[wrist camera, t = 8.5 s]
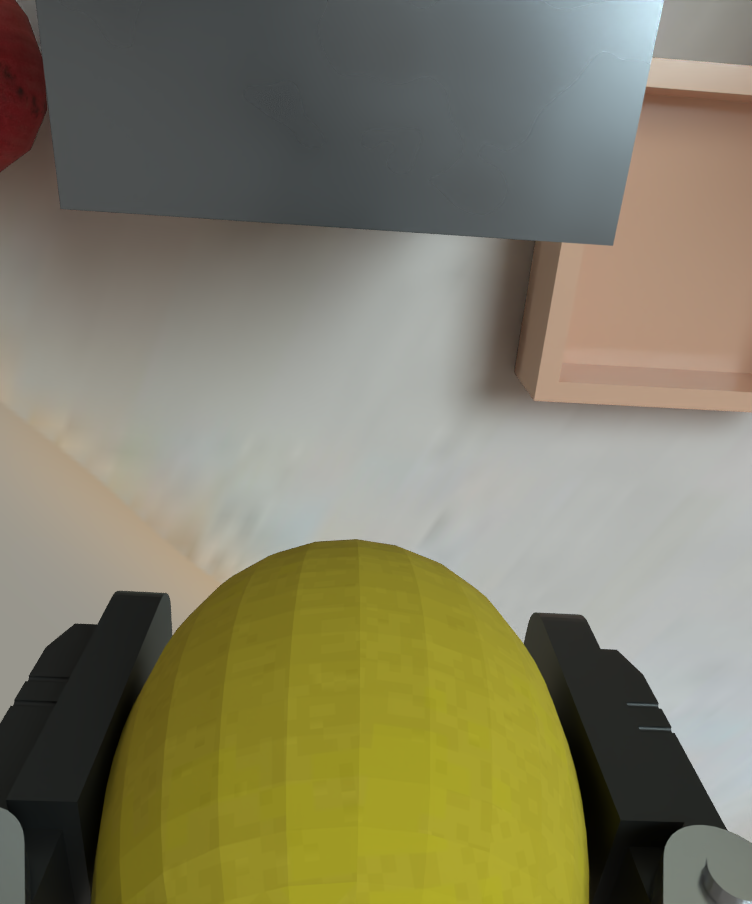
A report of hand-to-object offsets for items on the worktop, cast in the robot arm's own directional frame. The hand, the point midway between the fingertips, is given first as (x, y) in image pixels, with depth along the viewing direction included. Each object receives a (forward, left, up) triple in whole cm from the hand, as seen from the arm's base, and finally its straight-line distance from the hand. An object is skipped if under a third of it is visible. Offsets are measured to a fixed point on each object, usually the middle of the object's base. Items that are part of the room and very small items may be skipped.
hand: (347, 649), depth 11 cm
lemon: (0, 0, -2) cm, 2 cm away
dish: (+11, +5, -16) cm, 20 cm away
